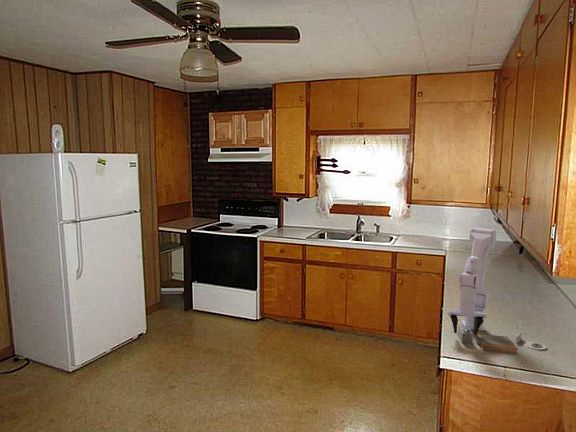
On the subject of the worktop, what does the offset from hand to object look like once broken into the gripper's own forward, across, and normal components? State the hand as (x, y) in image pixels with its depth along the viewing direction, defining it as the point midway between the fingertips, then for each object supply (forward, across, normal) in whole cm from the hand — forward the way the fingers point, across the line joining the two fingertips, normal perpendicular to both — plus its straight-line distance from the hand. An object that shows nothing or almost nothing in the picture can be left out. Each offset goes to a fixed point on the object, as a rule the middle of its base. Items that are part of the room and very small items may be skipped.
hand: (464, 333), depth 169 cm
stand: (+3, +11, -4) cm, 12 cm away
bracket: (+3, +25, 0) cm, 25 cm away
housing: (+3, 0, 0) cm, 3 cm away
